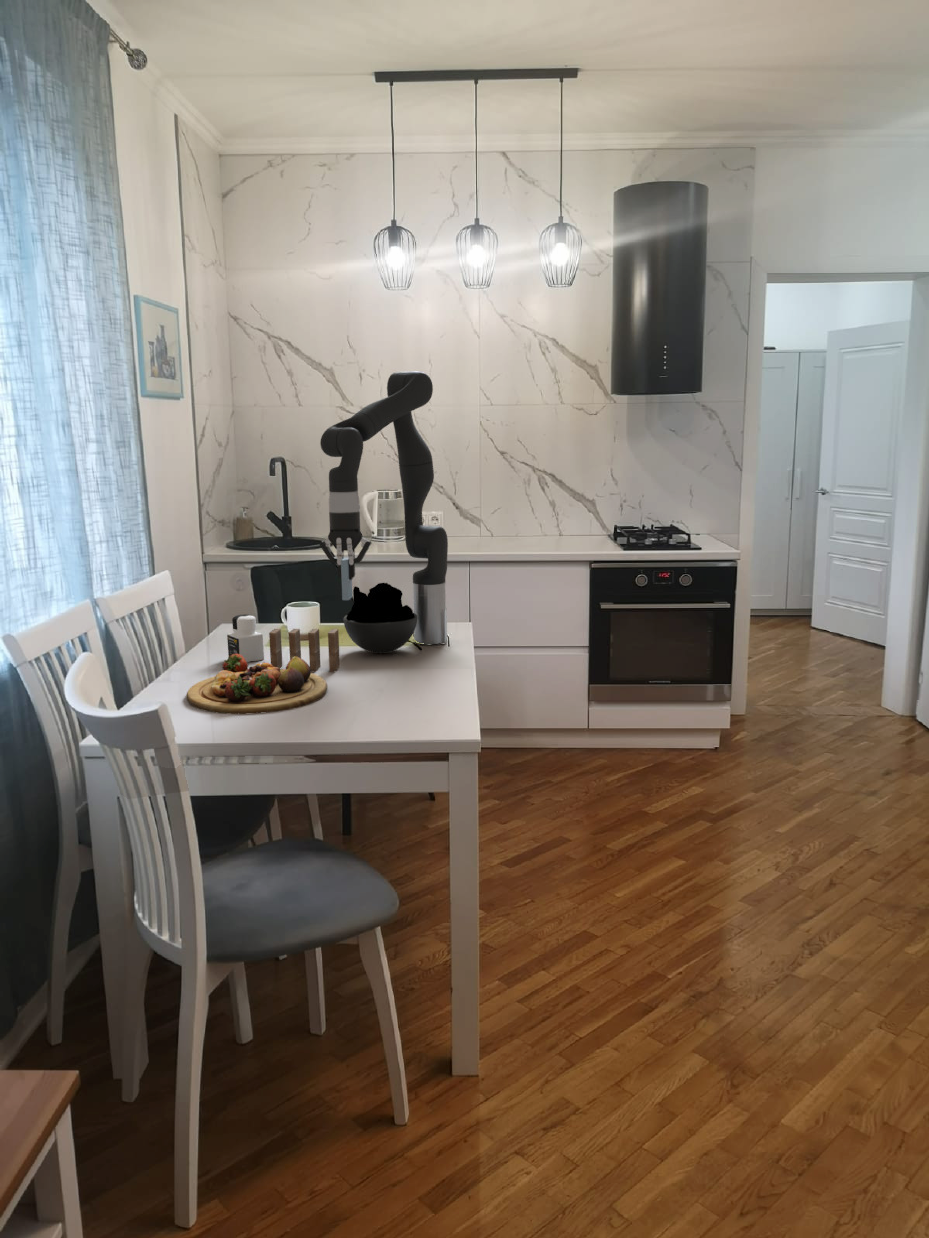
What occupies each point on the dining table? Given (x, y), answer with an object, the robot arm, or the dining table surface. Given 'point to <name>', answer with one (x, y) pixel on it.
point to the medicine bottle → (245, 639)
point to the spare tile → (346, 580)
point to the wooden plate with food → (257, 687)
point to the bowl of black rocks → (380, 619)
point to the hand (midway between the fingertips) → (346, 579)
